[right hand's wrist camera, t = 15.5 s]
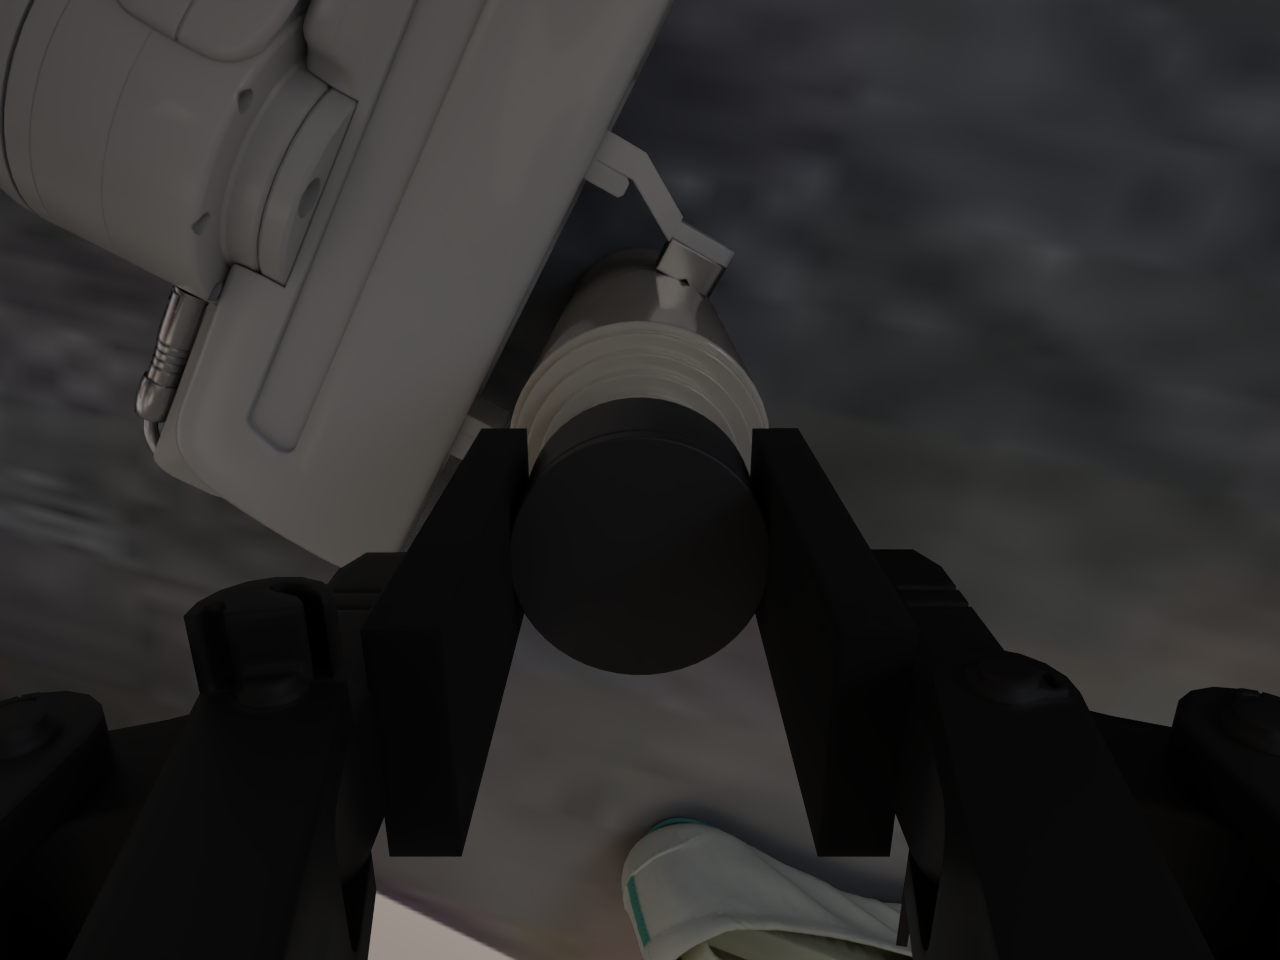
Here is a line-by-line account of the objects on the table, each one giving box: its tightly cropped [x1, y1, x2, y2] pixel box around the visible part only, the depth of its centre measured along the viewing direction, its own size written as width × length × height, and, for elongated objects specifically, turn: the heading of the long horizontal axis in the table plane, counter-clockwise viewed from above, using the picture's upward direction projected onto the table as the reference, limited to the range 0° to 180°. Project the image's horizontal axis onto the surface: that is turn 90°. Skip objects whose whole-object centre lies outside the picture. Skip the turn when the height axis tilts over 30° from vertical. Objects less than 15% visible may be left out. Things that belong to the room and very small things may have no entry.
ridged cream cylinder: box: [510, 248, 769, 476], centre depth 22 cm, size 5×5×20 cm
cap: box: [510, 397, 769, 675], centre depth 13 cm, size 4×4×2 cm
